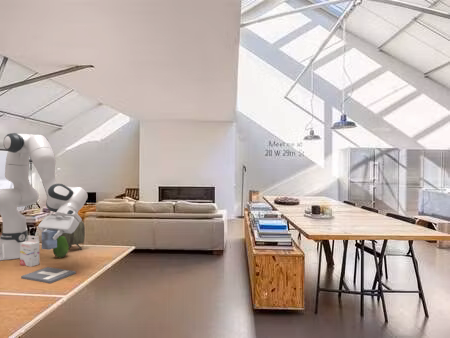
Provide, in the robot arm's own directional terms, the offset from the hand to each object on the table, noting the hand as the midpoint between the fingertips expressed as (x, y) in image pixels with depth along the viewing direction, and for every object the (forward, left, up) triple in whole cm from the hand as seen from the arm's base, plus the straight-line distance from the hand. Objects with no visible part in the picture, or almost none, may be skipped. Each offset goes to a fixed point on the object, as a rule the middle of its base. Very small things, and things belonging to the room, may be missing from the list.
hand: (48, 238), depth 145 cm
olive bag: (-28, +41, -18) cm, 53 cm away
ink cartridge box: (-24, +10, -18) cm, 31 cm away
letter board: (0, +1, -18) cm, 18 cm away
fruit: (-20, +26, -18) cm, 37 cm away
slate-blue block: (0, +1, -5) cm, 5 cm away
